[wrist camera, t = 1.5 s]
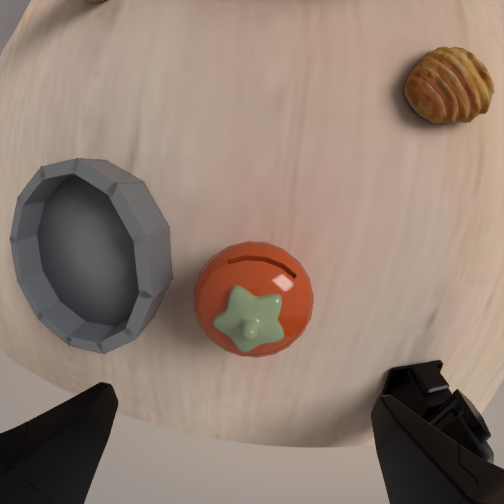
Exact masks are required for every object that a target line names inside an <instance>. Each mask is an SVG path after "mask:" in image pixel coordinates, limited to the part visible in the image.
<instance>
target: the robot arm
mask: <svg viewBox="0 0 504 504" xmlns="http://www.w3.org/2000/svg"><path fill="white" fill-rule="evenodd" d="M442 366H443V363H442V361H441V360H437V361H432V362H426V363H421V364H415V365H408V366H402V367H395V368H392V369H391V370H390V372H389V375H388V378H387V381H386V383H385V386H384V389H383V392H382V395H381V396H379V397H378V398H377V400H376V402H375V405H374V407H373V410H372V412H371V420H372V426H373V432H374V438H375V445H376V450H377V455H378V459H379V463H380V466H381V470H382V474H383V478H384V482H385V486H386V490H387V494H388V498H389V502H390V504H504V469H502V468H500V467H498V466H496V465H494V464H493V461H494V453H493V451H492V449H491V448H490V446H489V445H488V443H487V441H486V440H487V439H489V438H490V437H491V434H490V432H489V430H488V428H487V426H486V423H485V421H484V419H483V417H482V416H481V414H480V413H479V412H478V410H477V409H476V408H475V406H474V405H473V404H472V402H471V401H470V400H469V399H468V398H467V397H466V396H465V395H463V394H462V393H461V392H460V391H459V390H458V389H456V390H455V391H454V392H453V394H452V393H451V391H450V390H449V389H448V388H449V384H448V383H447V382H446V380H445V379H444V378H443V376H442V375H441V374H440V371H441V368H442ZM394 372H395V373H394ZM117 407H118V399H117V397H116V394H115V391H114V389H113V386H112V385H111V384H108V383H104V382H100V383H98V384H96V385H95V386H93V387H91V388H89V389H87V390H86V391H84V392H82V393H80V394H78V395H76V396H75V397H73V398H71V399H69V400H67V401H65V402H64V403H62V404H60V405H58V406H56V407H54V408H52V409H50V410H49V411H47V412H45V413H43V414H41V415H39V416H37V417H36V418H33V419H31V420H29V422H28V421H27V422H25V423H23V424H21V425H19V426H17V427H15V428H13V429H11V430H8V431H6V432H3V433H0V504H84V502H85V499H86V496H87V493H88V491H89V488H90V485H91V482H92V480H93V477H94V475H95V472H96V469H97V467H98V464H99V461H100V459H101V456H102V454H103V451H104V449H105V446H106V444H107V441H108V438H109V435H110V432H111V428H112V425H113V421H114V418H115V414H116V411H117Z"/></svg>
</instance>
